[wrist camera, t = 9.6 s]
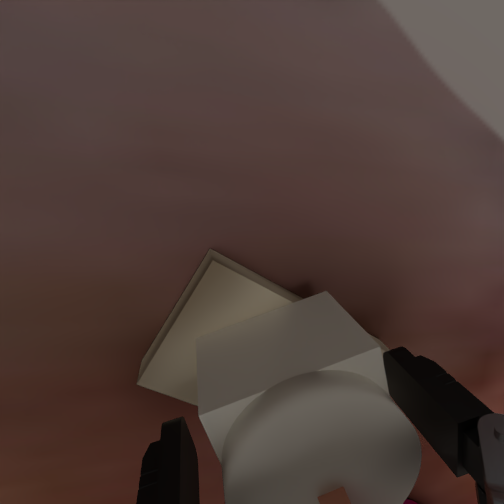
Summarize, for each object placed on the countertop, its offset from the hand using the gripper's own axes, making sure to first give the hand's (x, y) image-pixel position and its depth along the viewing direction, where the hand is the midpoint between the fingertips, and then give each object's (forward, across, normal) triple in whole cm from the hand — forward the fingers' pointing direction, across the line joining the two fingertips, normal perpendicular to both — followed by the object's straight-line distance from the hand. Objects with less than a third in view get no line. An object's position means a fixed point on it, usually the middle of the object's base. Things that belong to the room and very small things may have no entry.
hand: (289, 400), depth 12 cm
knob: (+2, 0, 0) cm, 2 cm away
